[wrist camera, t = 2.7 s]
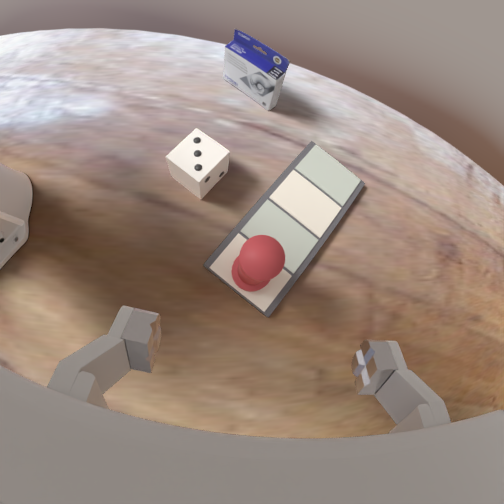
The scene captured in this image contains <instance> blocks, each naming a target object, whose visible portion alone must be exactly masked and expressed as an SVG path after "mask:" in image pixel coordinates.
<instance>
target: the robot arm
mask: <svg viewBox="0 0 504 504" xmlns="http://www.w3.org/2000/svg"><path fill="white" fill-rule="evenodd" d="M31 205H32V185H31V182H30V180H29V178H28V176H27V175H26V174H25V173H23V172H21V171H18V170H14V169H12V168H9V167H7V166H5V165H4V164H2V163H0V269H1V268H2V267H3V265H4V264H5V263H6V262H7V261H8V260H9V259H10V258H11V257H12V256H13V254H14V253H15V252H16V251H17V250H18V249H19V248H20V247H21V246H22V245H23V244H24V243H25V242H26V241H27V239H28V234H29V228H28V218H29V213H30V210H31ZM17 239H18V241H17ZM160 321H161V317H160V314H159V313H155V312H151V311H146V310H142V309H138V308H133V307H129V306H125V305H123V306H122V307H121V308H120V310H119V312H118V314H117V316H116V318H115V320H114V322H113V324H112V326H111V328H110V330H109V333H108V335H102V336H100V337H99V338H97V339H96V340H94V341H92V342H91V343H89V344H87V345H86V346H84V347H83V348H81V349H79V350H78V351H76V352H74V353H73V354H71V355H70V356H68V357H66V358H65V359H63V360H61V361H60V362H59V364H58V365H57V367H56V369H55V371H54V374H53V376H52V378H51V380H50V382H49V384H48V386H47V387H45V386H43V385H41V384H38V383H36V382H34V381H31V380H29V379H27V378H25V377H23V376H21V375H19V374H17V373H15V372H13V371H11V370H9V369H7V368H5V367H3V366H1V365H0V504H504V410H496V411H492V412H489V413H486V414H483V415H479V416H476V417H472V418H468V419H464V420H460V421H456V422H452V423H451V420H450V417H449V414H448V412H447V409H446V406H445V403H444V401H443V400H442V399H441V398H440V397H439V396H438V395H437V394H436V393H435V392H434V391H433V390H432V389H431V388H430V387H429V386H428V385H426V384H425V383H424V382H423V381H422V380H421V379H420V378H419V377H418V376H417V375H416V374H415V373H414V372H413V371H411V370H408V368H407V366H406V363H405V360H404V358H403V355H402V352H401V350H400V347H399V345H398V343H397V342H396V341H385V340H364V341H363V342H362V343H361V345H360V347H361V349H360V350H359V351H357V352H356V353H355V355H354V356H353V359H352V372H353V374H354V375H355V376H356V377H357V378H356V380H355V386H356V390H357V394H358V395H374V396H375V397H376V398H377V400H378V401H379V402H380V404H381V405H382V406H383V407H384V409H385V410H386V411H387V413H388V414H389V415H390V416H391V418H392V419H393V420H394V422H395V423H396V424H397V425H396V426H395V427H394V428H393V429H392V430H391V431H390V432H389V434H381V435H371V436H359V437H343V438H275V437H258V436H246V435H236V434H227V433H218V432H211V431H204V430H198V429H192V428H186V427H180V426H175V425H170V424H165V423H160V422H156V421H151V420H147V419H143V418H139V417H135V416H131V415H127V414H124V413H120V412H116V411H113V410H110V409H109V408H108V406H107V404H106V401H105V399H104V397H103V395H102V394H104V393H105V392H106V391H107V390H108V389H109V388H111V387H112V386H113V385H114V384H115V383H116V382H118V381H119V380H120V379H121V378H122V377H123V376H124V375H126V374H127V373H128V372H129V371H130V370H131V369H134V370H139V371H143V372H148V373H152V369H153V366H154V363H155V353H156V352H157V351H158V349H159V346H160V341H161V327H160V326H159V324H160Z"/></svg>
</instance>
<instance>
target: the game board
mask: <svg viewBox="0 0 504 504" xmlns="http://www.w3.org/2000/svg"><path fill="white" fill-rule="evenodd" d="M364 184H365V183H364V182H363V181H362V180H360V179H359V178H358V177H357V176H356V175H354V174H353V173H352V172H351V171H350V170H348V169H347V168H346V167H345V166H343V165H342V164H341V163H340V162H338V161H337V160H336V159H335V158H333V157H332V156H331V155H329V154H328V153H327V152H326V151H324V150H323V149H322V148H320V147H319V146H318V145H316V144H315V143H314V142H312V141H311V142H310V143H309V144H308V145H307V147H306V148H305V149H304V150H303V151H302V152H301V153H300V154H299V155H298V156H297V158H296V159H295V160H294V161H293V162H292V163H291V164H290V165H289V166H288V168H287V169H286V170H285V171H284V172H283V173H282V174H281V175H280V177H279V178H278V179H277V180H276V181H275V182H274V183H273V184H272V186H271V187H270V188H269V189H268V190H267V191H266V192H265V193H264V195H263V196H262V197H261V198H260V199H259V200H258V201H257V203H256V204H255V205H254V206H253V207H252V208H251V209H250V211H249V212H248V213H247V214H246V215H245V216H244V218H243V219H242V220H241V221H240V222H239V223H238V224H237V226H236V227H235V228H234V229H233V230H232V231H231V233H230V234H229V235H228V236H227V237H226V238H225V240H224V241H223V242H222V243H221V244H220V245H219V247H218V248H217V249H216V250H215V251H214V252H213V254H212V255H211V256H210V257H209V258H208V260H207V261H206V262H205V263H204V264H203V266H204V267H205V268H207V269H208V270H209V271H210V272H211V273H213V274H214V275H215V276H216V277H218V278H219V279H220V280H221V281H222V282H224V283H225V284H226V285H227V286H229V287H230V288H231V289H232V290H234V291H235V292H236V293H237V294H239V295H240V296H241V297H242V298H244V299H245V300H246V301H247V302H249V303H250V304H251V305H252V306H254V307H255V308H256V309H257V310H259V311H260V312H261V313H262V314H264V315H265V316H266V317H269V316H270V315H271V313H272V312H273V311H274V310H275V308H276V307H277V306H278V304H279V303H280V302H281V300H282V299H283V298H284V296H285V295H286V294H287V293H288V291H289V290H290V289H291V287H292V286H293V285H294V283H295V282H296V281H297V279H298V278H299V277H300V275H301V274H302V273H303V271H304V270H305V268H306V267H307V266H308V264H309V263H310V262H311V260H312V259H313V258H314V256H315V255H316V253H317V252H318V251H319V249H320V248H321V246H322V245H323V244H324V242H325V241H326V239H327V238H328V237H329V235H330V234H331V232H332V231H333V230H334V228H335V227H336V225H337V224H338V222H339V221H340V220H341V218H342V217H343V215H344V214H345V212H346V211H347V210H348V208H349V207H350V205H351V204H352V202H353V201H354V199H355V198H356V196H357V195H358V193H359V192H360V190H361V189H362V187H363V186H364ZM256 235H267V236H270V237H273V238H274V239H276V240H277V241H278V242H279V243H280V244H281V246H282V247H283V249H284V252H285V264H284V267H283V269H282V271H281V272H280V273H279V274H278V275H277V276H276V277H274V278H273V279H270V281H269V283H268V284H267V285H266V286H265V287H264V288H262V289H260V290H258V291H254V292H249V291H245V290H242V289H241V288H239V287H238V286H237V285H236V284H235V282H234V280H233V278H232V273H231V271H232V265H233V263H234V261H235V259H236V258H237V257H238V256H239V254H240V250H241V248H242V246H243V244H244V243H245V242H246V241H247V240H248V239H249V238H251V237H253V236H256Z"/></svg>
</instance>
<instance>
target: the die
mask: <svg viewBox="0 0 504 504" xmlns="http://www.w3.org/2000/svg"><path fill="white" fill-rule="evenodd" d="M229 155H230V151H229V150H227V149H226V148H224V147H223V146H222V145H220V144H219V143H217V142H216V141H214V140H213V139H212V138H210V137H209V136H207V135H206V134H204V133H203V132H202V131H200V130H199V129H197V128H196V129H195V130H194V131H193V132H192V133H191V134H189V135H188V136H187V137H186V138H185V139H184V140H183V141H182V142H181V143H180V144H179V145H177V146H176V147H175V148H174V149H173V150H172V151H171V152H170V153H169V154H168V155H167V156H166V160H167V163H168V167H169V171H170V174H171V177H173V178H174V179H175V180H176V181H178V182H179V183H180V184H181V185H183V186H184V187H185V188H187V189H188V190H189V191H190V192H192V193H193V194H194V195H195V196H197V197H198V198H199V199H200V200H201V199H202V198H203V197H204V196H205V195H206V194H207V193H208V192H209V191H210V190H211V189H212V188H213V187H214V186H215V184H216V183H217V182H218V181H219V180H220V179H221V178H222V177H223V176H224V175H225V174H226V173H227V172H228V165H229Z"/></svg>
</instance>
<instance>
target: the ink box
mask: <svg viewBox="0 0 504 504" xmlns="http://www.w3.org/2000/svg"><path fill="white" fill-rule="evenodd" d="M234 34H235V35H234V40H233V41H231V42H230V43H229V44H227V45H226V46H225V56H224V70H223V79H225V80H226V81H227V82H229V83H230V84H232V85H233V86H235V87H236V88H238V89H239V90H241V91H242V92H244V93H245V94H246V95H248V96H249V97H250V98H252V99H253V100H255V101H256V102H257V103H259V104H260V105H261V106H263V107H264V108H265V109H267V110H268V111H269V110H271V109H272V108H273V107H275V106H276V104H277V101H278V97H279V94H280V91H281V87H282V84H283V81H284V77H285V74H286V70H287V68H288V65H289V63H290V60H288V59H287V58H285V57H284V56H282V55H281V54H279V53H277V52H276V51H274V50H273V49H271V48H269V47H268V46H266V45H265V44H263V43H261V42H259V41H258V40H256V39H254V38H253V37H251V36H249V35H247V34H245V33H243V32H242V31H240V30H238V29H235V33H234ZM253 45H255V46H257V47H261V48H262V50H263V51H265V52H266V53H267V55H265V54H264V53H262V52H260V51H259V50H257V49H256V48H254V47H253Z"/></svg>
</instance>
